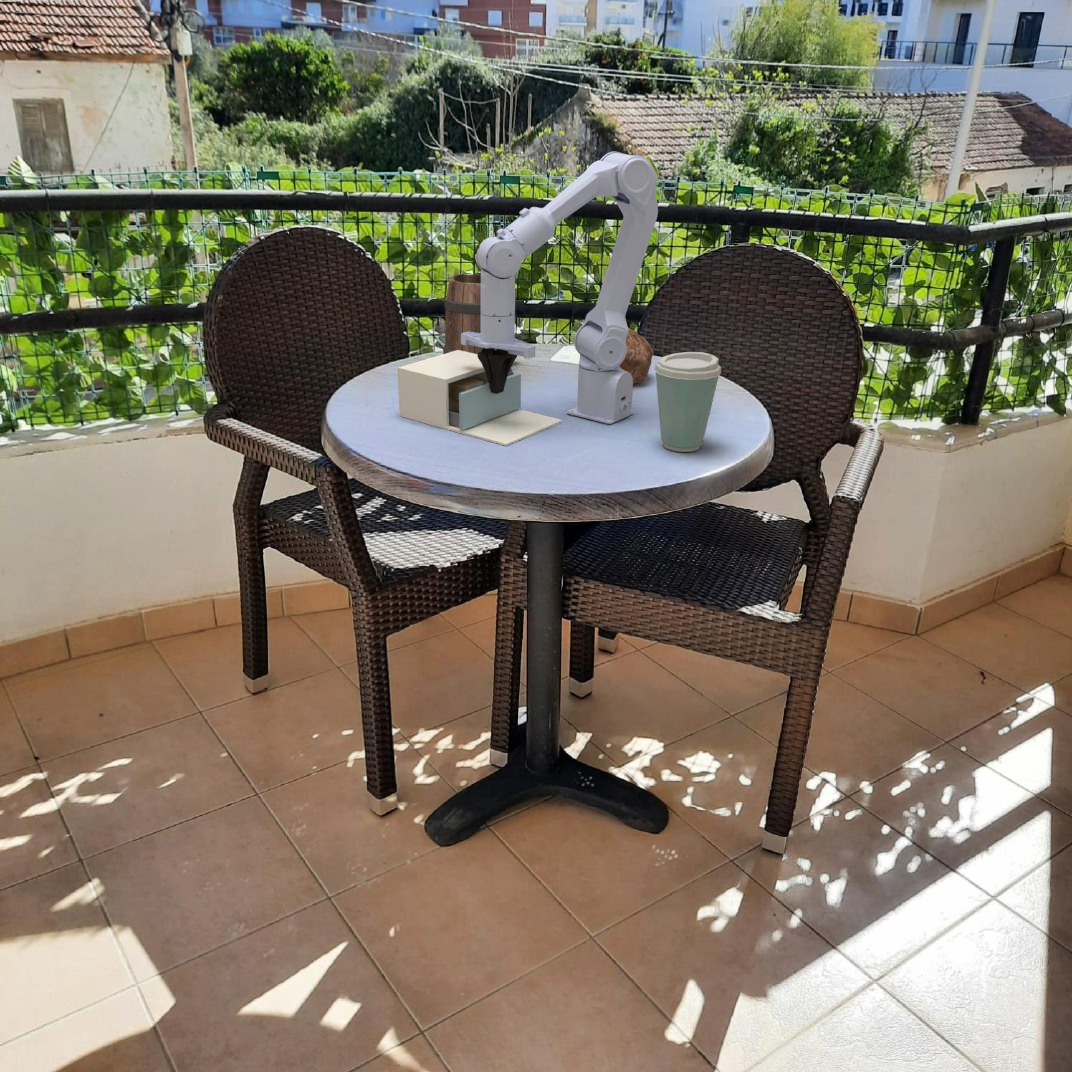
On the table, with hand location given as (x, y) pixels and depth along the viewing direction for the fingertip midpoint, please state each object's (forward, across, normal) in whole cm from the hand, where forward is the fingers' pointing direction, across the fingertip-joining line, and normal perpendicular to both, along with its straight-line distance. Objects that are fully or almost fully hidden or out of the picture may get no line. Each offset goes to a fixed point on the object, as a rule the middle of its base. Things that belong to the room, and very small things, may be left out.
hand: (497, 392), depth 167 cm
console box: (+6, -4, 0) cm, 7 cm away
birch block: (+4, -7, 0) cm, 8 cm away
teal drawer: (+6, -7, 0) cm, 9 cm away
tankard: (+6, -21, +22) cm, 31 cm away
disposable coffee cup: (+6, +30, +11) cm, 33 cm away
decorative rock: (+6, +2, +38) cm, 39 cm away
